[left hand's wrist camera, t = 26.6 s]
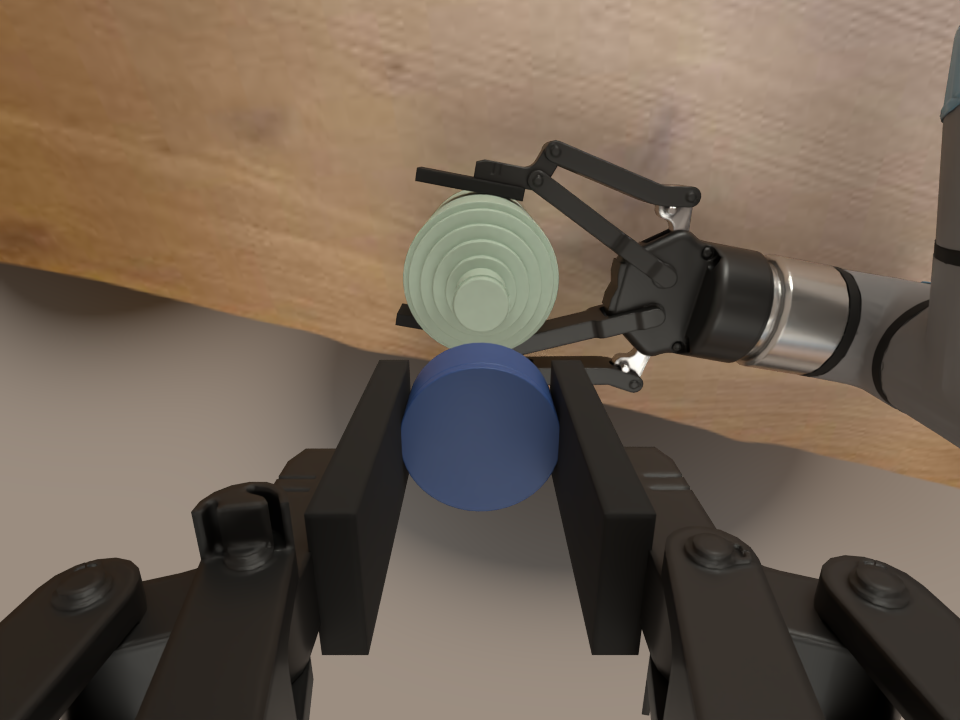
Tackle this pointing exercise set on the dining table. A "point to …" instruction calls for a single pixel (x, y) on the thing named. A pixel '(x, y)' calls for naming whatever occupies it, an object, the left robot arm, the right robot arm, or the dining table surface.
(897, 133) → the dining table surface
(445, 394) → the cap
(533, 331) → the bottle
